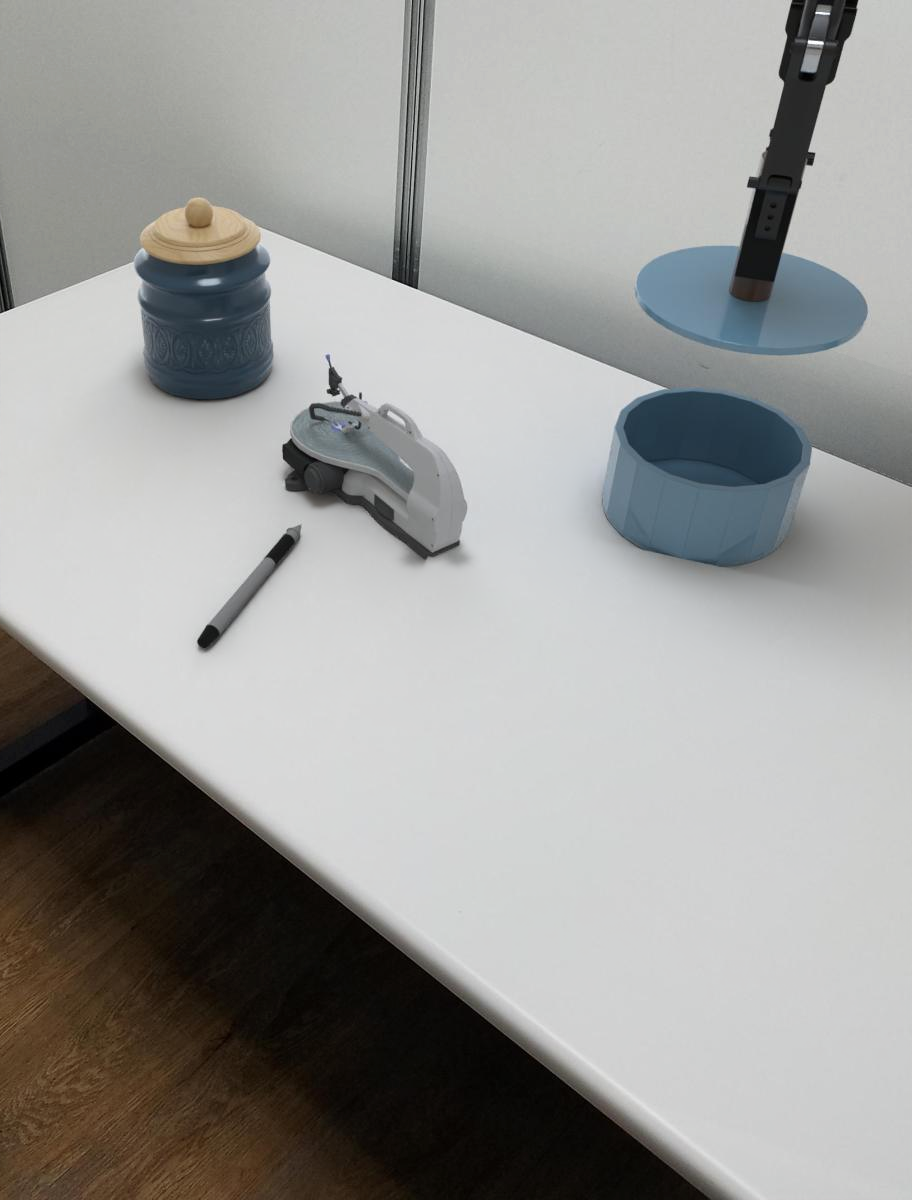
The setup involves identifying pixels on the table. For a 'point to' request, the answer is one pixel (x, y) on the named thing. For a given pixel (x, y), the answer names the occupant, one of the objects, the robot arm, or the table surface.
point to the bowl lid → (750, 300)
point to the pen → (248, 587)
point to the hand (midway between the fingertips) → (757, 265)
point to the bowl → (704, 475)
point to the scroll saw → (378, 468)
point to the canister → (204, 302)
